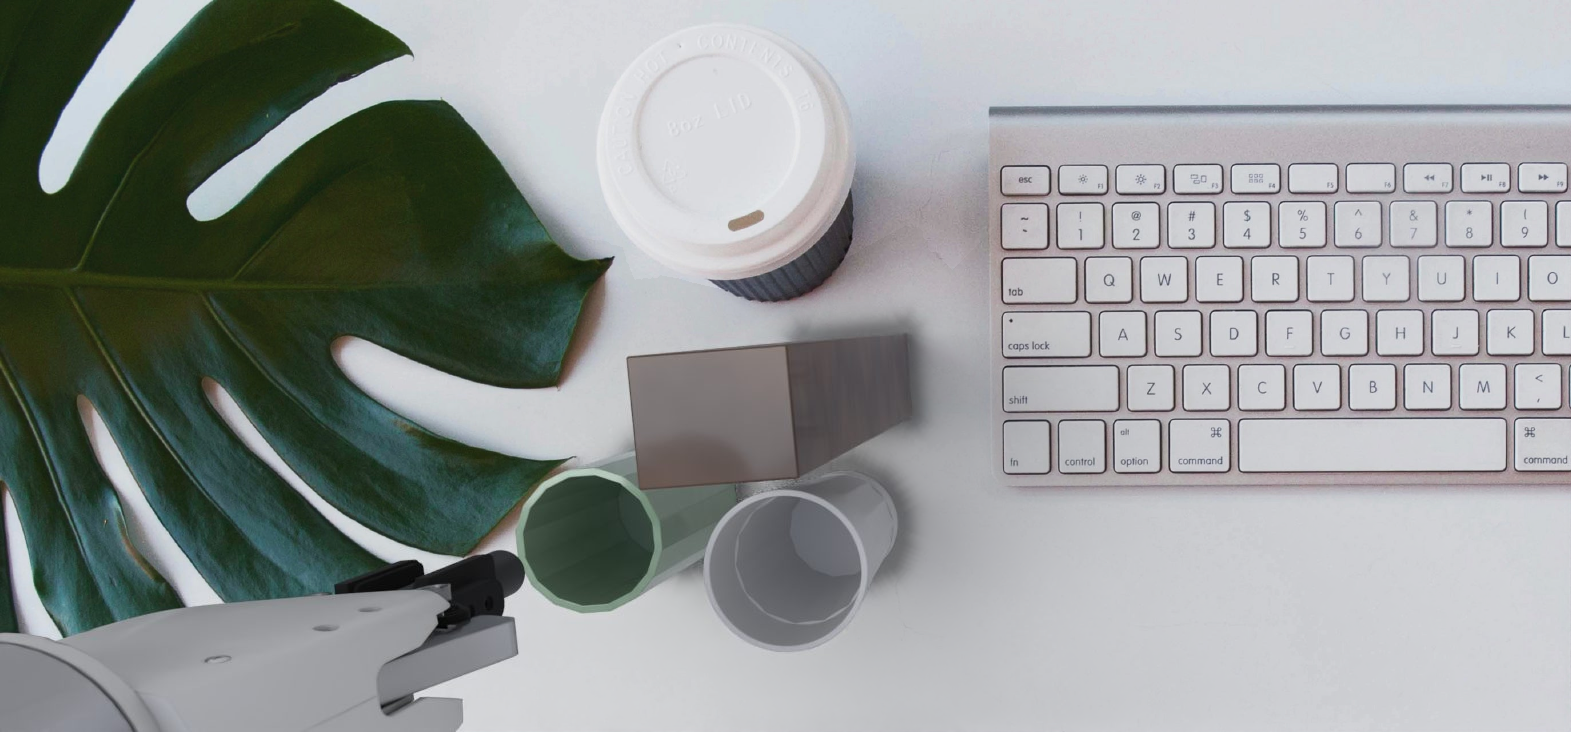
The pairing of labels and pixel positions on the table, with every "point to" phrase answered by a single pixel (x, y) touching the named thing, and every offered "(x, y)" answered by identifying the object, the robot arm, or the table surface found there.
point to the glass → (613, 533)
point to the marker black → (503, 572)
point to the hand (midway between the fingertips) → (452, 596)
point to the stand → (763, 408)
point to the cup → (799, 559)
